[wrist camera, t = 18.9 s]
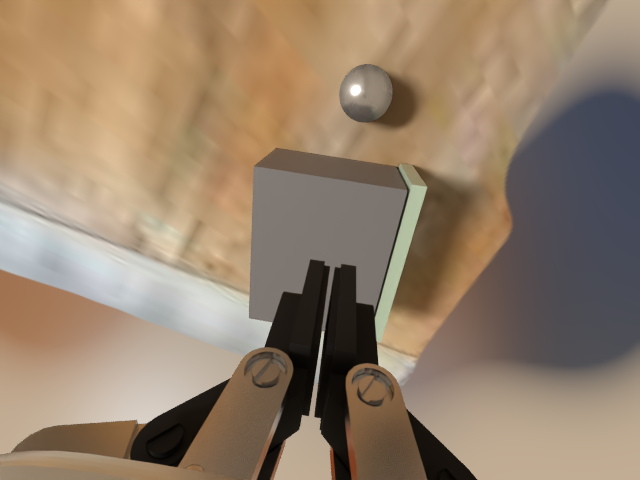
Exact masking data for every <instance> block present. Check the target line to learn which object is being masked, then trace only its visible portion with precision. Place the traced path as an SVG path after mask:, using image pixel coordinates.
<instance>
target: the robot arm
mask: <svg viewBox="0 0 640 480" xmlns="http://www.w3.org/2000/svg"><path fill="white" fill-rule="evenodd" d="M329 272H330V266H326V265H325V261H319V260H313V259H310V262H309V267H308V271H307V275H306V279H305V283H304V287H303V291H302V294H298V293H291V292H285V291H284V292H283V294H282V296H281V299H280V302H279V305H278V308H277V311H276V314H275V317H274V320H273V323H272V326H271V329H270V332H269V335H268V338H267V341H266V344H265V347H264V348H259V349H256V350H253V351H251V352H250V353H248V354H247V355H246V356H245V357H244V358H243V359H242V361H241V362H240V364H239V365H238V367H237V369H236V370H235V372H234V374H233V375H232V377H231V378H230V379H228V380H226V381H224V382H222V383H220V384H219V385H217V386H215V387H213V388H211V389H209V390H207V391H205V392H203V393H201V394H199V395H198V396H196V397H194V398H192V399H190V400H188V401H186V402H184V403H183V404H180V405H179V406H177V407H175V408H173V409H171V410H169V411H167V412H165V413H163V414H161V415H160V416H158V417H156V418H154V419H153V420H152V421H150V422H149V423H147V424H138V422H137V420H132V421H116V422H102V423H88V424H73V425H58V426H52V427H48V428H44V429H41V430H39V431H37V432H35V433H33V434H31V435H29V436H28V437H27V438H25V439H24V440H23V441H22V442H20V443H19V444H18V445H17V446H16V447H15V448H14V449H13V451H12V452H11V453H7V454H1V455H0V480H273V479H274V476H275V473H276V470H277V467H278V464H279V461H280V458H281V455H282V452H283V449H284V447H285V441H286V439H287V438H288V437H290V436H291V435H292V434H294V433H295V432H297V431H298V430H299V427H300V423H301V417H302V415H306V416H309V411H310V405H311V398H312V392H313V385H314V379H315V373H316V366H317V360H318V353H319V346H320V339H321V332H322V324H323V317H324V309H325V302H326V294H327V287H328V279H329ZM315 417H317V418H321V424H320V430H321V434H322V435H323V437H324V438H325V439H326V441H327V442H328V443H329V445H330V460H331V475H332V480H477V479H476V478H475V476H474V475H473V474H472V473H471V472H470V470H469V469H468V468H467V467H466V466H465V465H464V464H463V463H461V462H460V461H459V460H458V459H457V458H456V457H455V456H454V455H453V454H452V453H451V452H450V451H449V450H448V449H447V448H446V447H445V446H444V445H443V444H442V443H441V442H440V441H439V440H438V439H437V438H436V437H435V436H434V435H433V434H432V433H431V432H430V431H429V430H428V429H426V428H425V426H423V425H422V424H421V423H420V422H419V421H418V420H417V419H416V418H415V417H414V416H413V415H412V414H411V413H410V412H409V411H408V410H407V409H406V407H405V403H404V401H403V397H402V394H401V390H400V387H399V385H398V383H397V380H396V379H395V378H394V377H393V375H392V374H391V373H390V372H388V371H387V370H386V369H384V368H383V367H380V366H378V354H377V341H376V328H375V315H374V306H373V305H369V304H363V303H356V266H353V265H346V264H341V268H339V267H335V269H334V276H333V282H332V288H331V294H330V300H329V307H328V313H327V319H326V326H325V333H324V341H323V350H322V358H321V366H320V374H319V383H318V391H317V399H316V407H315Z"/></svg>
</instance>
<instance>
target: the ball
mask: <svg viewBox="0 0 640 480" xmlns="http://www.w3.org/2000/svg"><path fill="white" fill-rule="evenodd" d="M392 94H393V89H392V83H391V80H390V78H389V76H388V75H387V73H386V72H385V71H384V70H383V69H381V68H380V67H378V66H375V65H371V64H364V65H360V66H357V67H355V68H354V69H352V70H351V71H350V72H349V73H348V74H347V75H346V76H345V78H344V80H343V82H342V84H341V87H340V94H339V95H340V103H341V106H342V108H343V110H344V112H345V113H346V114H347V115H348V116H349V117H350V118H351V119H353V120H355V121H358V122H371V121H374V120H376V119H378V118H379V117H381V116H382V115H383V114H384V113H385V112H386V110H387V109H388V107H389V105H390V103H391V100H392Z"/></svg>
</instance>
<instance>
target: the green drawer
mask: <svg viewBox="0 0 640 480" xmlns="http://www.w3.org/2000/svg"><path fill="white" fill-rule="evenodd" d="M398 172H399V174H400V176H401V178H402V180H403V182H404V184H405V186H406V188H407V190H408V191H407V195H406V198H405V202H404V206H403V209H402V213H401V217H400V220H399V224H398V228H397V232H396V235H395V239H394V243H393V246H392V250H391V254H390V257H389V261H388V265H387V268H386V272H385V276H384V280H383V283H382V287H381V291H380V294H379V298H378V302H377V305H376V309H375V313H374V315H375V328H376V341H377V342H381V340H382V337H383V333H384V330H385V327H386V323H387V320H388V317H389V313H390V310H391V307H392V303H393V300H394V297H395V293H396V290H397V287H398V283H399V280H400V277H401V273H402V270H403V267H404V263H405V260H406V257H407V253H408V250H409V247H410V243H411V240H412V237H413V233H414V230H415V227H416V223H417V220H418V217H419V213H420V210H421V207H422V203H423V200H424V197H425V193H426V190H427V186H426V184H425V183H424V181H423V180H422V178H421V177H420V176H419V174H418V173H417V171H416V170H415V168H414V167H413V165H408V164H402V163H400V165H399V169H398Z"/></svg>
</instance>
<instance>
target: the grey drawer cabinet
mask: <svg viewBox="0 0 640 480" xmlns="http://www.w3.org/2000/svg"><path fill="white" fill-rule="evenodd" d="M407 191H408V190H407V188H406V186H405V184H404V182H403V180H402V178H401V176H400V174H399V172H398V169H397V167H396V166H389V165H383V164H376V163H370V162H364V161H357V160H351V159H344V158H338V157H331V156H325V155H318V154H312V153H305V152H299V151H293V150H286V149H280V148H276V149H275V150H273V151H272V152H271V153H270V154H268V155H267V156H266V157H265V158H263V159H262V160H261V161H260V162H258V163H257V164H256V165H255V166H254V178H253V209H252V239H251V270H250V301H249V318H251V319H257V320H263V321H268V322H273V320H274V317H275V314H276V311H277V308H278V305H279V302H280V299H281V296H282V294H283V292H284V291H285V292H291V293H298V294H302V291H303V287H304V283H305V279H306V275H307V271H308V267H309V262H310V259H313V260H319V261H325V265H326V266H330V272H329V279H328V287H327V294H326V302H325V309H324V317H323V324H322V331H325V326H326V319H327V313H328V307H329V300H330V294H331V288H332V282H333V276H334V269H335V267H339V268H341V264H346V265H353V266H356V303H363V304H369V305H373V306H374V313H375V309H376V305H377V302H378V298H379V294H380V291H381V287H382V283H383V280H384V276H385V272H386V268H387V265H388V261H389V257H390V254H391V250H392V246H393V243H394V239H395V235H396V232H397V228H398V224H399V220H400V217H401V213H402V209H403V206H404V202H405V198H406V195H407Z"/></svg>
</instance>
